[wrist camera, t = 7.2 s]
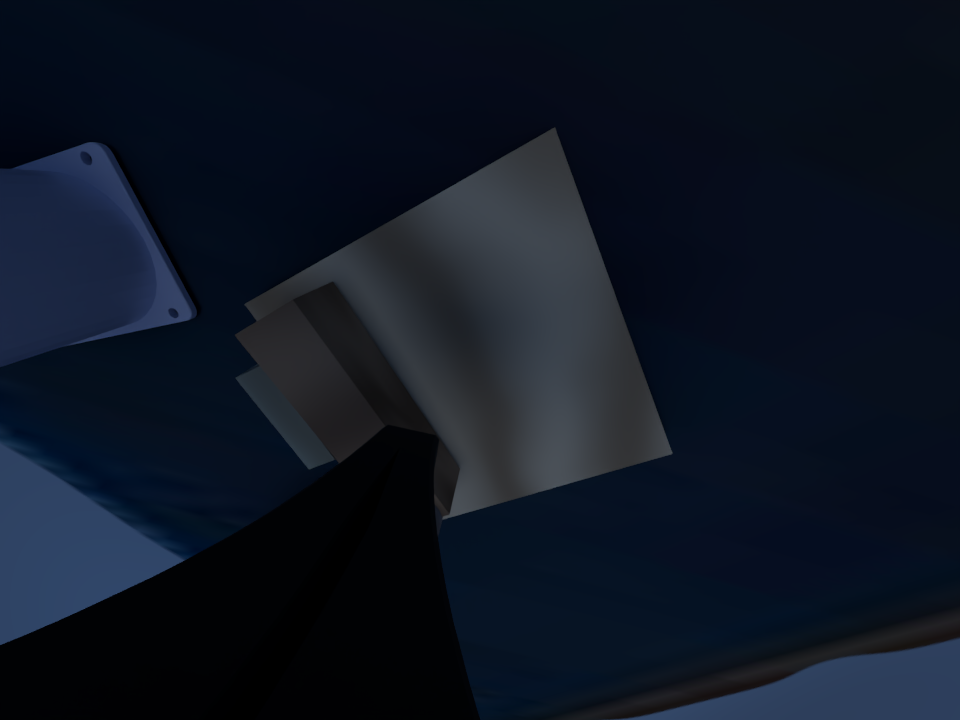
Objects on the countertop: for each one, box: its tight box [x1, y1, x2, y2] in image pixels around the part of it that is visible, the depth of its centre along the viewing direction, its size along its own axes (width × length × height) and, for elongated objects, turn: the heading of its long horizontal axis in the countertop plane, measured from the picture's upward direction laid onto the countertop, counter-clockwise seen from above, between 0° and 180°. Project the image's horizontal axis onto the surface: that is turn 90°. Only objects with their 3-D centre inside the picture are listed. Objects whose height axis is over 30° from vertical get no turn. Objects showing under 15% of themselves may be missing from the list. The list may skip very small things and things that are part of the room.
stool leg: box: [235, 281, 460, 535], centre depth 16 cm, size 12×3×4 cm, turn 28°
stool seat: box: [236, 128, 672, 520], centre depth 16 cm, size 15×15×4 cm
